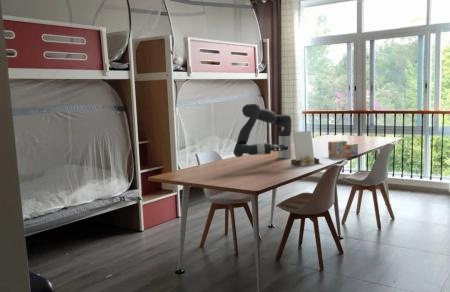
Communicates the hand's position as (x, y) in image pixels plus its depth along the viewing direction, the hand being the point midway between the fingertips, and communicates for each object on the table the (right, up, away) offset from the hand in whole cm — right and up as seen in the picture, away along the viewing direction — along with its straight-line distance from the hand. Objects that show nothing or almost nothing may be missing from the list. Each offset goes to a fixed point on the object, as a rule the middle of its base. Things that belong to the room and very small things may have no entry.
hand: (286, 147), depth 298 cm
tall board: (+14, -11, +3) cm, 18 cm away
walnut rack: (+14, -13, +1) cm, 19 cm away
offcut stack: (+14, -12, -2) cm, 19 cm away
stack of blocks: (+48, -8, +33) cm, 58 cm away
